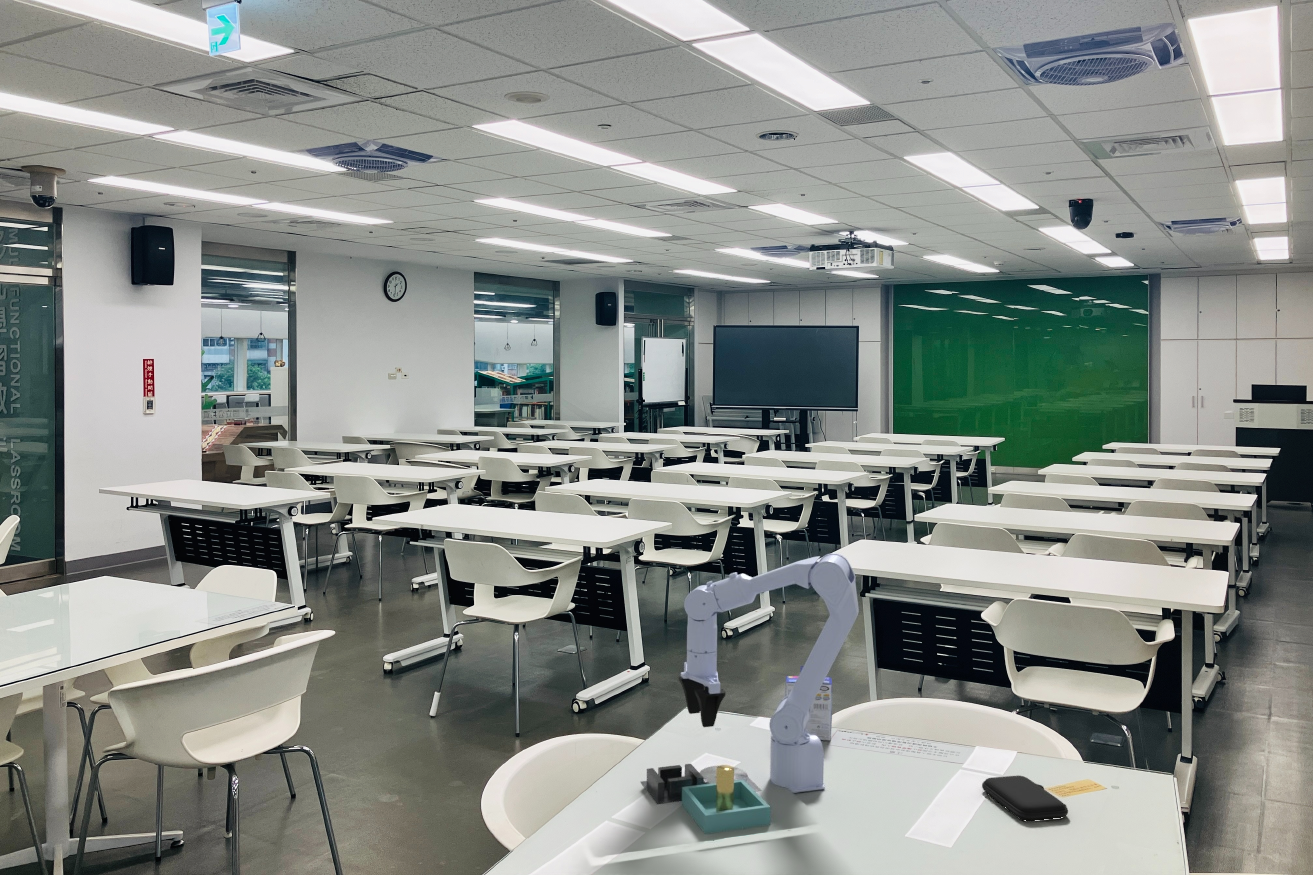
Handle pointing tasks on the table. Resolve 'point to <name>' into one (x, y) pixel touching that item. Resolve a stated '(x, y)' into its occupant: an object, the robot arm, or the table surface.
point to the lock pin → (724, 788)
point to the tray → (744, 814)
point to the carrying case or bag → (1024, 798)
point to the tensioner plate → (683, 781)
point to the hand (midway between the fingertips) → (701, 719)
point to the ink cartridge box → (817, 708)
